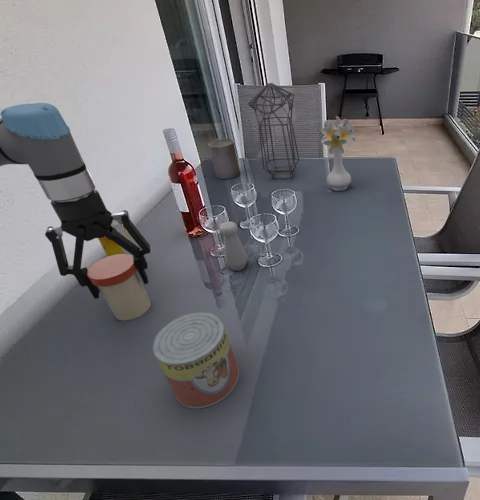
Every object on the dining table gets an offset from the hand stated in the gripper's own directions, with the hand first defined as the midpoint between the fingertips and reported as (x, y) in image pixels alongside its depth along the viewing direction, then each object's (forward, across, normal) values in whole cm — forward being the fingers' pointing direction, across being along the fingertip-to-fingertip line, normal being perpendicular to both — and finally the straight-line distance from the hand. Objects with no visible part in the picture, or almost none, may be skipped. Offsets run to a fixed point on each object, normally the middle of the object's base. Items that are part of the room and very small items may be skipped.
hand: (122, 287), depth 77 cm
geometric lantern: (+7, -57, -58) cm, 81 cm away
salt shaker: (+7, -25, -4) cm, 26 cm away
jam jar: (+6, 0, 0) cm, 6 cm away
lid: (-6, 0, 0) cm, 6 cm away
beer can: (+7, +1, -18) cm, 20 cm away
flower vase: (+7, -71, -34) cm, 79 cm away
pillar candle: (+7, -37, -71) cm, 80 cm away
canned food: (+7, -12, +28) cm, 31 cm away
